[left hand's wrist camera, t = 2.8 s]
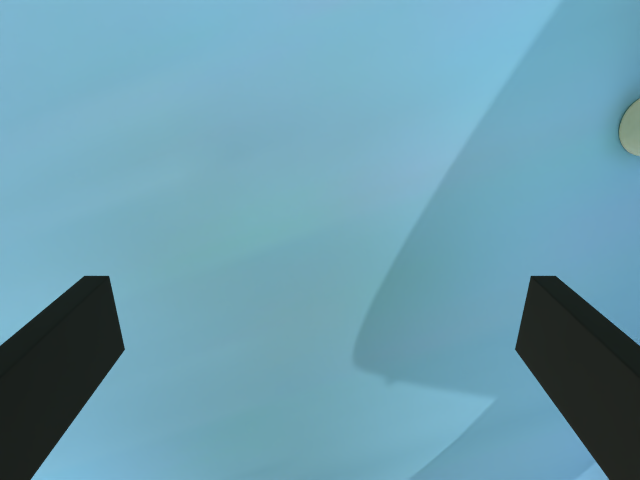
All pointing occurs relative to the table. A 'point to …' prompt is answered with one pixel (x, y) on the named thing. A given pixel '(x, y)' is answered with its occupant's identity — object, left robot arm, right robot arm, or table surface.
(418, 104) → the table surface
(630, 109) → the cylinder
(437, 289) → the table surface
